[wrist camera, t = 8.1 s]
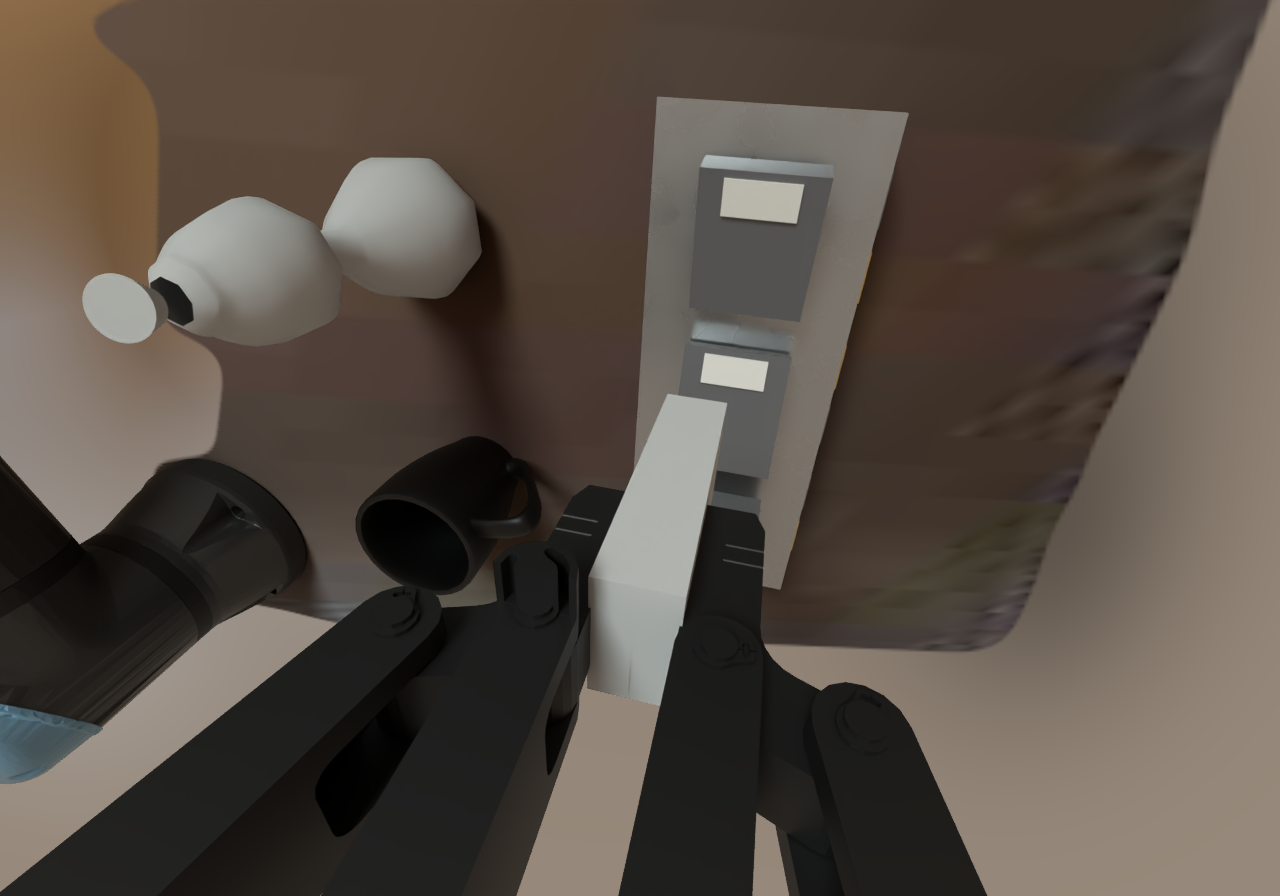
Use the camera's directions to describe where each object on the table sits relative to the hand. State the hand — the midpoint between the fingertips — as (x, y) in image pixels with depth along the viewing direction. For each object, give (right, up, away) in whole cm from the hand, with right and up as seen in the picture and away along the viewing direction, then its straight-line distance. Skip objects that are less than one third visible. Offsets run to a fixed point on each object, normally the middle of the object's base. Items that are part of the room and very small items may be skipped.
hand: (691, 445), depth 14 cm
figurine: (-13, +14, +19) cm, 27 cm away
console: (+5, +5, +19) cm, 20 cm away
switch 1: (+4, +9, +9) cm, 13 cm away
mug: (-11, -1, +28) cm, 30 cm away
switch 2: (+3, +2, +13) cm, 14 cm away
